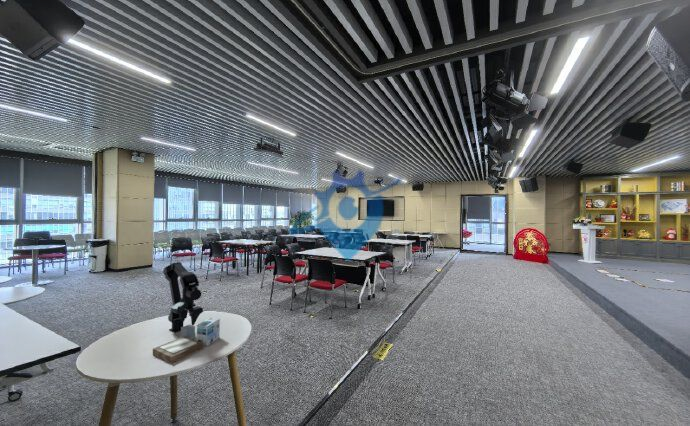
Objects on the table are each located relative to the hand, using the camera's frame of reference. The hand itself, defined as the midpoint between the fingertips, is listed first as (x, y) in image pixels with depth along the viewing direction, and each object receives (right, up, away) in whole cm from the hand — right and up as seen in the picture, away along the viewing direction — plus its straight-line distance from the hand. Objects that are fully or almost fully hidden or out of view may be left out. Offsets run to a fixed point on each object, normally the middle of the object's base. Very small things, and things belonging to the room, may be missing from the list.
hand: (187, 323), depth 157 cm
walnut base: (+4, -8, -16) cm, 18 cm away
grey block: (0, -8, 0) cm, 8 cm away
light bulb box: (+14, -8, -4) cm, 16 cm away
